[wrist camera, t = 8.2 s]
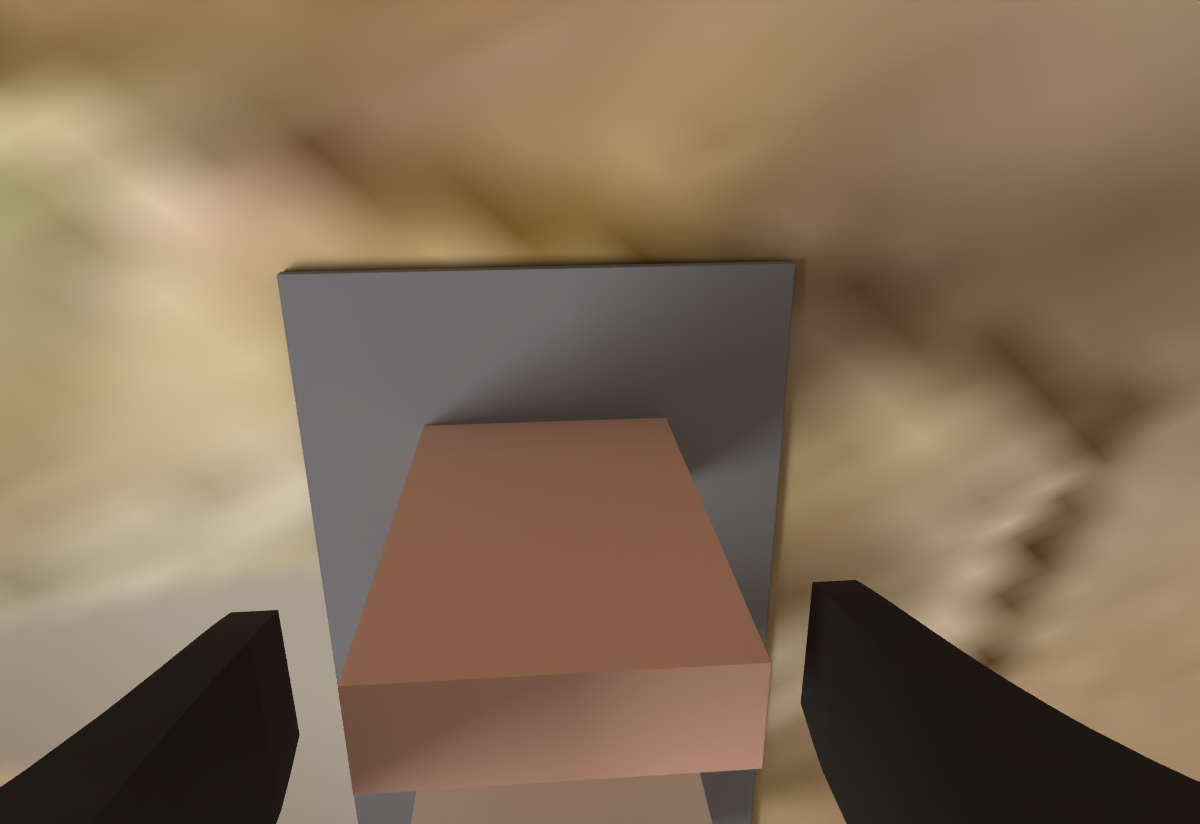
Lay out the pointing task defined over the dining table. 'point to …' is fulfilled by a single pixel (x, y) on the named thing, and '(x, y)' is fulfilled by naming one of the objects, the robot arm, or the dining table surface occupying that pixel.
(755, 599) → the mat
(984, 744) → the robot arm
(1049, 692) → the dining table surface
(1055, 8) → the dining table surface
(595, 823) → the domino
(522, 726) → the domino
